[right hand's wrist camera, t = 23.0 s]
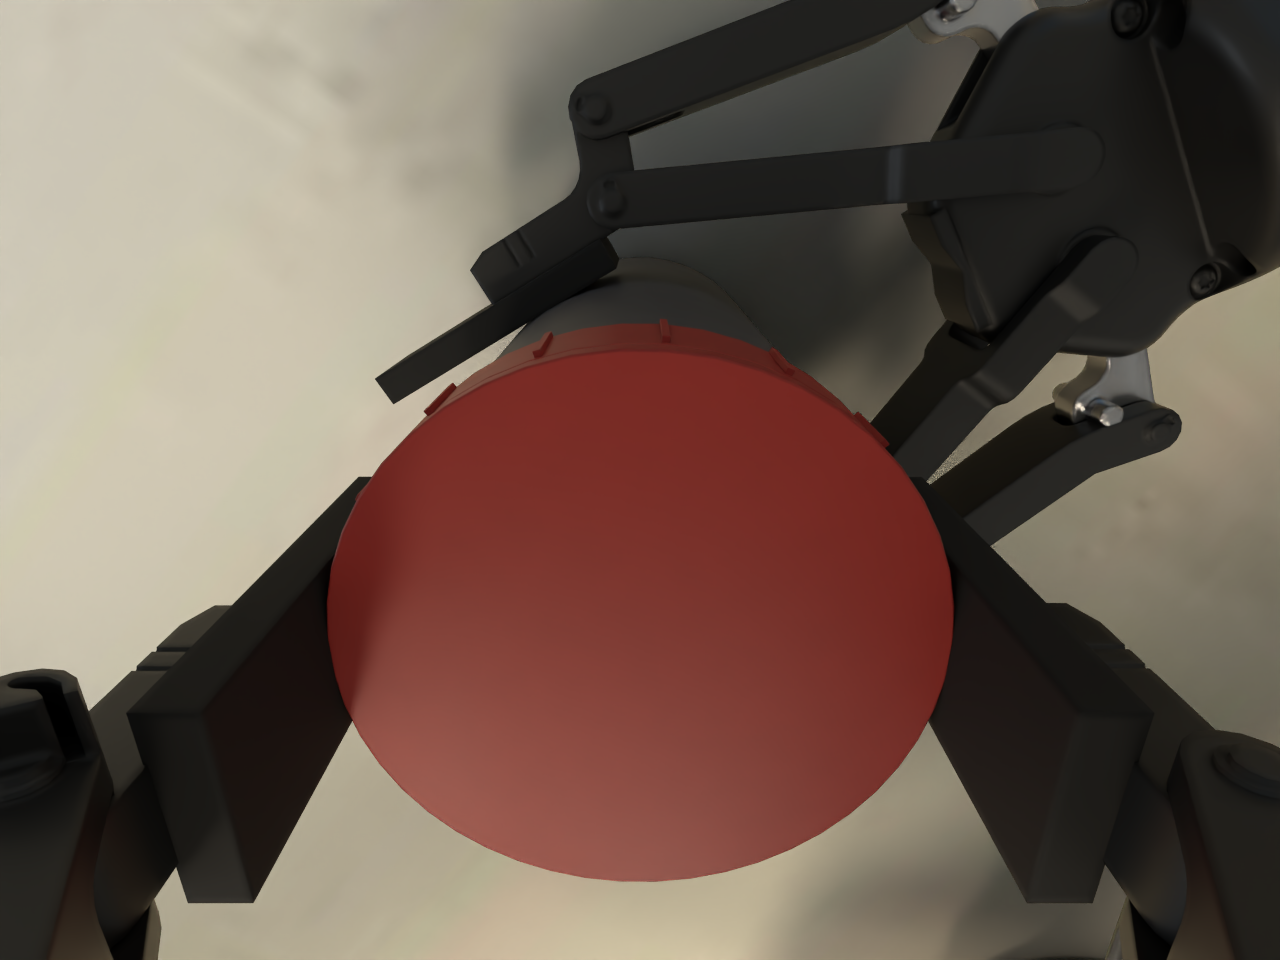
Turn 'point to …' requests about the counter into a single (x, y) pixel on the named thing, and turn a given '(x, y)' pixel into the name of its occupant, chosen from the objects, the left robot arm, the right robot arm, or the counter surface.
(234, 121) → the counter surface
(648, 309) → the jar
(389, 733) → the lid
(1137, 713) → the right robot arm
